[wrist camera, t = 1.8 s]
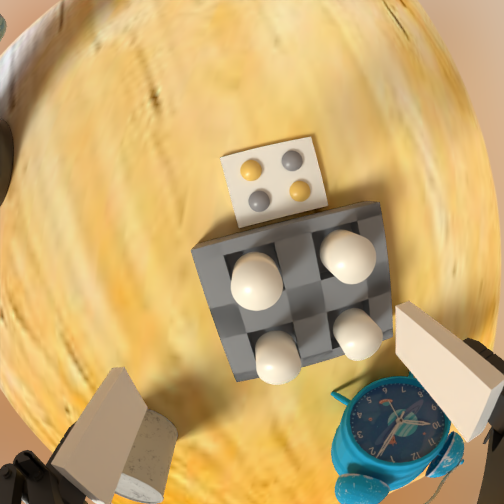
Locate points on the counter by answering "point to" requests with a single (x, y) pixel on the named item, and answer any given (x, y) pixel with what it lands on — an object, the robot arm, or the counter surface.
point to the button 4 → (357, 334)
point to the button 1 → (256, 281)
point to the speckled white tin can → (149, 460)
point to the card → (274, 181)
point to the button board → (295, 285)
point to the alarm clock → (391, 440)
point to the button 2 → (277, 358)
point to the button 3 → (348, 256)
